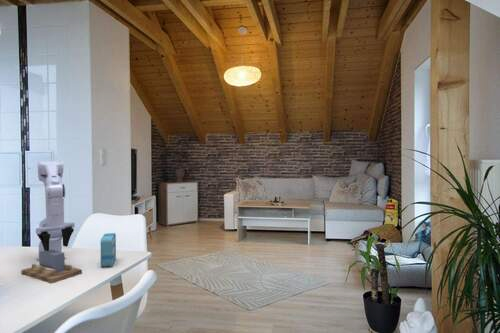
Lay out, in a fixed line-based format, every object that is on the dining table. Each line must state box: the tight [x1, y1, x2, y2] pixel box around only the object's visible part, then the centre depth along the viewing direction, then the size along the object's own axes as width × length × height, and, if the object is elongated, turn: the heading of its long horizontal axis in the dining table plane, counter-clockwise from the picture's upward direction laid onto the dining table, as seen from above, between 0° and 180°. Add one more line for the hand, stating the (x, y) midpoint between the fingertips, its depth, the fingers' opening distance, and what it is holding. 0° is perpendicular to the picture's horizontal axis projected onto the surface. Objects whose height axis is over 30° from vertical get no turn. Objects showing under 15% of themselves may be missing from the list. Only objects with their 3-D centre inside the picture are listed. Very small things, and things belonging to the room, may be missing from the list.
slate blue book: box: [38, 249, 66, 273], centre depth 135 cm, size 10×4×7 cm, turn 61°
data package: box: [100, 232, 117, 268], centre depth 148 cm, size 12×4×12 cm, turn 15°
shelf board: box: [20, 263, 83, 284], centre depth 135 cm, size 20×12×4 cm, turn 61°
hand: (56, 248), depth 137 cm, fingers open, 7 cm apart
